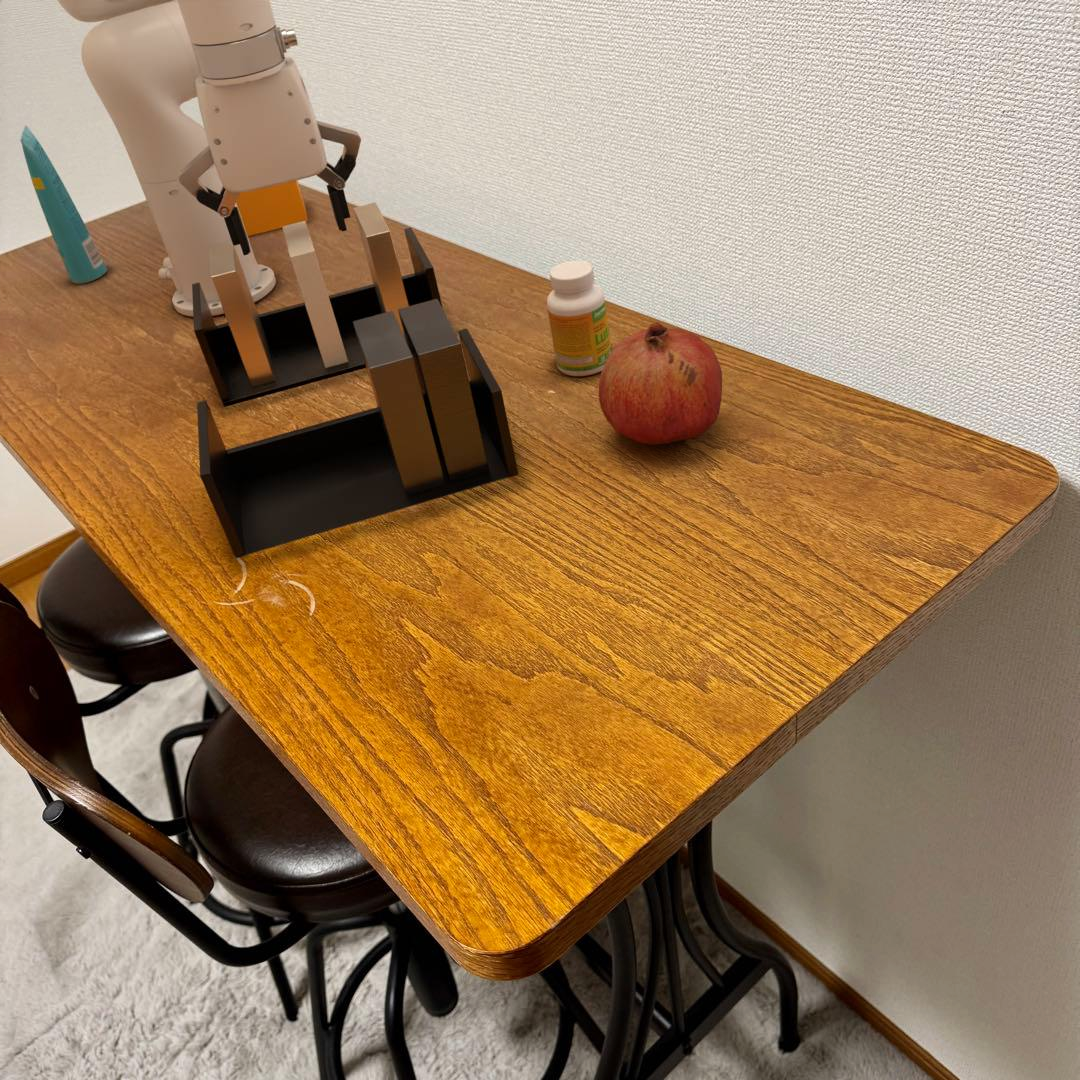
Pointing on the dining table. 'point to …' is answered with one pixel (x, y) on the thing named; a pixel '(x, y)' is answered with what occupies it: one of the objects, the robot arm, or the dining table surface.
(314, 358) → the brown and black frame
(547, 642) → the dining table surface
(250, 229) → the orange juice
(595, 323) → the supplement bottle
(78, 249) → the tube
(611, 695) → the dining table surface
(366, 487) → the black rack
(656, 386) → the fruit
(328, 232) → the dining table surface
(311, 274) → the long flat cream plank
